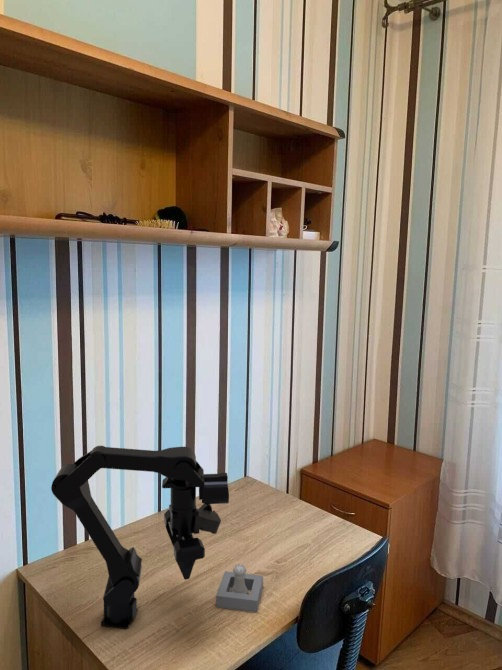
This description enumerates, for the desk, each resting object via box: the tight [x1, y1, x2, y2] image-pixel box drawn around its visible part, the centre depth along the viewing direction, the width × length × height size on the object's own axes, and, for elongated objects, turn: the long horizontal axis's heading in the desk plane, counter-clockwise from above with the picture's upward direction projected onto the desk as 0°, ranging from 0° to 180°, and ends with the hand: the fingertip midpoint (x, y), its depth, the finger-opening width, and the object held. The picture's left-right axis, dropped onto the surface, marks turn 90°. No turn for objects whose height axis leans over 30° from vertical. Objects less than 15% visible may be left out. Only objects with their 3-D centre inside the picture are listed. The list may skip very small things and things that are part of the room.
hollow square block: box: [215, 570, 264, 613], centre depth 128 cm, size 10×10×3 cm
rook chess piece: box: [230, 563, 249, 594], centre depth 128 cm, size 4×4×8 cm
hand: (183, 567), depth 120 cm, fingers open, 9 cm apart
